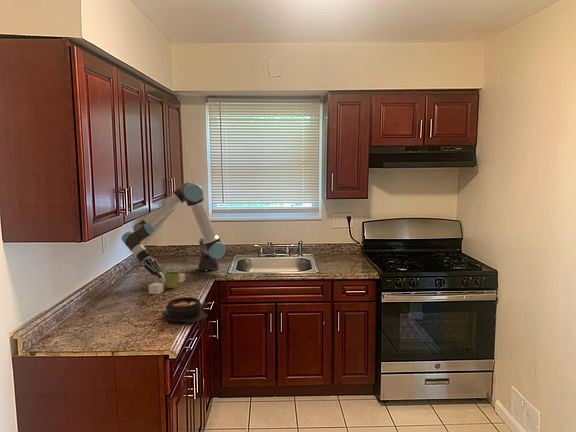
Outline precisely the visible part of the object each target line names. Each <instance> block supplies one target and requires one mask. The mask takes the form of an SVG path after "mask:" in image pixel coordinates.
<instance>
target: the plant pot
mask: <svg viewBox="0 0 576 432" xmlns="http://www.w3.org/2000/svg"><path fill="white" fill-rule="evenodd" d="M179 274H180V271H176V270H175V271H172V270H171V271H165V272H164V273H163V275H164V276H165V280H166V282H165V285H166V288H168V289H176V288H177V287H178V283H177V282H178V277H179Z"/></svg>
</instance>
